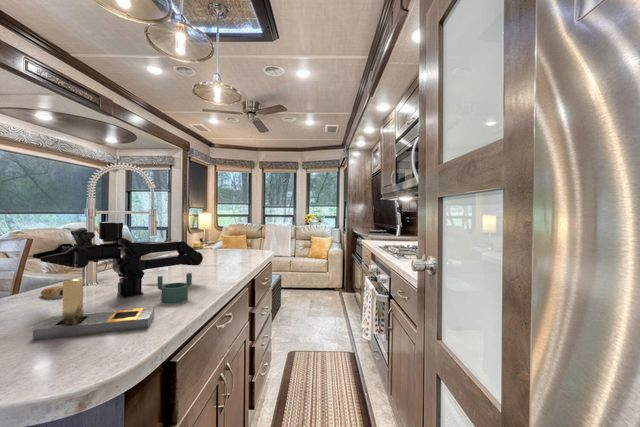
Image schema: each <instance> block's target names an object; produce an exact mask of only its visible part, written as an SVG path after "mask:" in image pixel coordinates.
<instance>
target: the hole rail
mask: <svg viewBox="0 0 640 427" xmlns="http://www.w3.org/2000/svg"><path fill="white" fill-rule="evenodd" d="M154 318H155V307H151V308H144V307H142V308H131V309H121V310H115V311H105V312H94V313H83V322H82V323H75V324H65V325H62V321H63V315H59V316H51V317H50V318H48V319H47V320H45V321H44V322H43V323H42V322H41V324H39V325H38V326H36V327H35V328H34V329H32V341H40V340H42V341H43V340H49V339H50V340H51V339H60V338H68V337H69V338H70V337H77V336H85V335H87V336H88V335H96V334H97V335H98V334H107V333H115V332H123V331H133V330H142V329H149V327H150V325H151V323H152V322H153V319H154Z"/></svg>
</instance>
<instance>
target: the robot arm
mask: <svg viewBox="0 0 640 427" xmlns="http://www.w3.org/2000/svg"><path fill="white" fill-rule="evenodd" d="M98 224H99V226H98V233H99V234H98V238H99V239H100V240H102V242H104V243H93V239H94V238H95V237H96V235H95V232H94V231H88V229H87V228H86V227H79V228H76V229H74V230H73V229H72V230H70V234H71V236H72V238H73V239H74V241H75V243H74V244H72V243H70V242H60V243H59V244H58V245H56V246H55V248H53V249H50V250H49V249H48V250H45V251H41V252H37V253H33V255H32V258H33V259H39V260H40V261H39V262H42V263H43V262H44V263H48V264H53V265H58V266H63V267H64V266H65V267H68V268H69V267H70V268H73V269H74V268H76V269H80V268H82V269H83V268H85V267H87V266H88V265H89V263H90V262H91V263H92V262H93V263H98V262H99V261H109V260H112V270H113V272H114V273H116V274H117V276H118V278H119V282H118V283H117V294H116V295H118V296H119V297H122V298H129V297H134V296H135V297H136V296H140V295H143V294H144V292H143V291H142V290H143V289H142V284H143V283H142V280H143V278H144V275H145V272H144V271H145V270H151V269H159V268H165V267H166V268H167V267H173V266H181V265H182V266H183V265H185V266H194V267H195V266H200V265H201V264H202V263H203V259H204V256H203V254H202V252H200V251H197V250H196V249H194V248H193V247H192V246H190V245H189V244H188V243H187V242H186V241H184V240H179V239H178V240H171V241H159V242H158V241H157V242H141V241H140V242H139V241H131V240H129V239H128V238H126V237H123V230H124V228H123V227H124V223H123V222H113V221H100V222H99V223H98ZM105 242H106V243H105ZM174 251H176V252H177V253H178V254H175V255H166V256H165V255H164V256H158V257H157V256H156V257H151V258H150V257H149V258H142V257H144V256H146V255H149V254H154V253H163V252H174Z"/></svg>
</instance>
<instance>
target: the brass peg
mask: <svg viewBox="0 0 640 427" xmlns="http://www.w3.org/2000/svg"><path fill="white" fill-rule="evenodd" d="M62 286H63V297H62V316H63V321H62V325H65V324H75V323H82V322H83V314H84V312H83V310H84V307H83V306H84V305H83V304H84V302H83V301H84V278H82V277H75V278H68V279H64V280H62Z"/></svg>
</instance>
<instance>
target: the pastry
mask: <svg viewBox="0 0 640 427" xmlns="http://www.w3.org/2000/svg"><path fill="white" fill-rule="evenodd" d="M40 295H41V296H42V297H44V298H45V299H51V300H54V299H55V300H56V299H61V298H62V299H63V285H57V286H55V285H54V286H52V287H47V288H45V289H43V290H41V292H40Z"/></svg>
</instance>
